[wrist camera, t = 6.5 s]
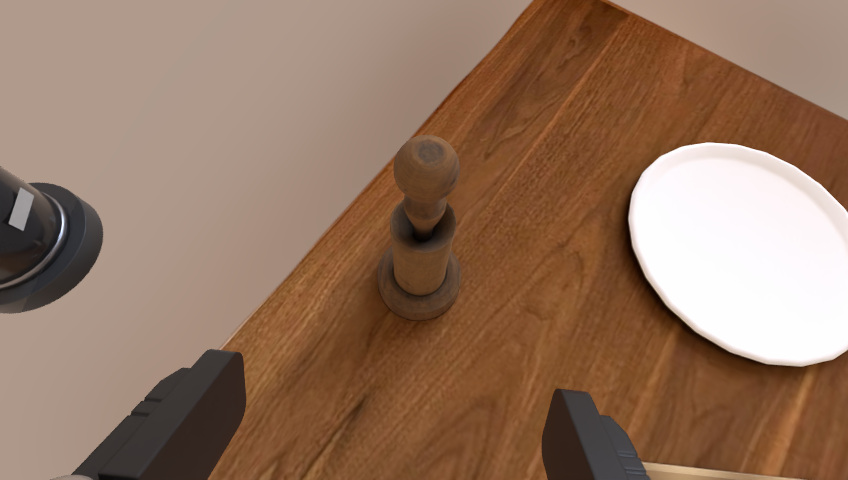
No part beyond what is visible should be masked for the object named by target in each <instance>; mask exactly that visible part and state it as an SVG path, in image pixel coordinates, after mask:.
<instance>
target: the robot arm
mask: <svg viewBox="0 0 848 480" xmlns="http://www.w3.org/2000/svg"><path fill="white" fill-rule="evenodd" d="M69 233H70V218H69V215H68V212H67V210H66V209H65V207H64V206H63V205H62V204H61V203H60V202H59V201H57V200H56V199H54V198H52V197H51V196H49V195H47V194H45V193H43V192H40V191H39V190H37V189H36V188H34V187H32V186H31V185H29V184H28V183H26V182H24V181H23V180H21V179H20V178H19V177H17V176H15V175H14V174H12V173H11V172H9V171H7V170H6V169H4V168H2V167H1V166H0V291H2V290H7V289H11V288H14V287H17V286H20V285H22V284H24V283H26V282H28V281H30V280H32V279H33V278H35V277H37V276H38V275H40V274H41V273H42V272H44V271H45V270H46V269H47V268H48V267H49V266H50V265H51V264H52V263H53V262H54V261H55V260H56V259H57V258H58V256H59V255H60V253H61V252H62V250H63V249H64V247H65V245H66V243H67V240H68V237H69ZM245 407H246V390H245V377H244V364H243V356H242V354H241V353H239V352H231V351H222V350H213V349H210V350H207V351H206V352H205V353H204V354H203V355H202V356H201V357H200V358H199V360H198V361H197V362H196V363H195V364H194V365H193V366H192V367H191V368H181V369H179V370H178V371H176V372H174V373H173V374H171V375H169V376H168V377H166V378H165V379H163V380H161V381H160V382H159V383H158V384H157V385H156V386H155V387H154V389H152V391H151V392H150V393H149V394H148V395H147V396H146V397H145V400H144V401H141V402H140V403H139V404H138V405H137V406H136V407H135V408H134V409H133V411H132V412H131V415H130V416H127V417H126V418H125V419H124V420H123V421H122V422H121V423H120V424H119V425H118V426H117V427H116V428H115V429H114V430H113V431H112V432H111V434H110V435H109V436H108V437H107V438H106V439H105V440H104V441H103V442H102V443H101V444H100V445H99V446H98V447H97V448H96V449H95V450H94V451H93V452H92V453H91V455H89V457H88V458H87V459H86V460H85V461H84V462H83V463H82V464H81V465H80V466H79V467H78V468H77V469H76V470H75V471H74V472H73V473H72V474H71V475H67V476H61V477H57V478H54V479H51V480H207V479H208V477H209V476H210V474H211V472H212V471H213V469H214V467H215V466H216V464H217V462H218V461H219V459H220V457H221V456H222V454H223V452H224V451H225V449H226V447H227V446H228V444H229V442H230V441H231V439H232V437H233V436H234V434H235V432H236V431H237V429H238V427H239V425H240V423H241V421H242V419H243V416H244V412H245ZM542 457H543V462H544V466H545V470H546V474H547V478H548V480H651V479H650V477H649V475H646V469H645V468H644V466H643V464H642V462H641V460H640V458H638V457H637V452H636V450H635V448H634V446H633V444H632V443H631V441H630V439H629V437H628V435H627V433H626V432H625V431H624V430H623V429H622V428H621V427H620V426H619V425H618V424H617V423H616V422H615V421H614V420H613V419H612V418H611V417H610V416H603V415H599V413H598V411H597V408H596V406H595V404H594V402H593V400H592V398H591V396H590V394H589V393H588V392H583V391H574V390H565V389H556V390H555V391H554V394H553V397H552V401H551V404H550V408H549V412H548V416H547V420H546V423H545V427H544V431H543V435H542Z"/></svg>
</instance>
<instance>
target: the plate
mask: <svg viewBox="0 0 848 480" xmlns="http://www.w3.org/2000/svg"><path fill="white" fill-rule="evenodd" d="M627 220H628V226H629V233H630V239H631V246H632V249H633V252H634V254H635V256H636V259H637V261H638V263H639V266H640V268H641V270H642V273H643V275H644V277H645V279H646V280H647V281H648V283H649V284H650V286H651V287H652V288H653V290H654V291H655V292H656V294H657V295H658V296H659V298H660V299H661V301H662V302H663V303H664V305H665V306H666V307H667V308H668V309H669V310H670V311H671V312H672V313H674V314H675V315H676V316H677V317H678V318H679V319H680V320H681V321H683V322H684V323H685V324H686V325H687V326H688V327H689V328H690V329H691V330H693V331H694V332H695V333H697V334H698V335H700V336H702V337H703V338H705V339H707V340H708V341H710V342H712V343H714V344H715V345H717V346H719V347H720V348H722V349H724V350H726V351H727V352H729V353H732V354H735V355H738V356H741V357H745V358H748V359H751V360H754V361H757V362H760V363H763V364H770V365H784V366H798V367H802V366H807V365H811V364H815V363H820V362H824V361H829V360H833V359H835V358H836V357H838V356H839V355H841V354H842V353H844V352H845V351H847V350H848V213H847V212H846V210H845V209H844V208H843V207H842V206H841V205H840V204H839V203H838V202H837V201H836V200H835V199H834V198H833V197H832V196H831V195H830V194H829V193H828V192H827V191H826V190H825V189H824V188H823V187H822V186H821V185H820V184H819V183H817V182H816V181H815V180H813V179H812V178H810V177H809V176H807V175H806V174H805V173H803V172H802V171H800V170H799V169H798V168H796V167H795V166H793V165H791V164H789V163H786V162H784V161H782V160H780V159H778V158H776V157H774V156H772V155H770V154H768V153H765V152H762V151H758V150H754V149H751V148H747V147H744V146H740V145H734V144H721V143H702V144H695V145H689V146H682V147H680V148H678V149H676V150H673V151H671V152H669V153H667V154H665V155H662V156H660V157H659V158H658V159H657V160H656V161H655V162H654V163H653V164H651V165H650V166H649V167H648V168H647V169H646V170H645V171H644V172H643V173H642V175H641V177H640V178H639V180H638V182H637V184H636V186H635V188H634V190H633V192H632V194H631V199H630V206H629V212H628V219H627Z"/></svg>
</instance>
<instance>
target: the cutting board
mask: <svg viewBox="0 0 848 480" xmlns="http://www.w3.org/2000/svg"><path fill="white" fill-rule="evenodd" d="M642 464H643V466H644V468H645V469H646V475H649V477H650V479H651V480H804V479H795V478H786V477H777V476H768V475H759V474H749V473H740V472H731V471H722V470H713V469H704V468H695V467H685V466H676V465H667V464H658V463H649V462H642Z"/></svg>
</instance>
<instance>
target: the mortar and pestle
mask: <svg viewBox="0 0 848 480" xmlns="http://www.w3.org/2000/svg"><path fill="white" fill-rule="evenodd" d="M459 174H460V164H459V160H458V157H457V154H456V152H455V151H454V149H453V148H452V147H451V145H450V144H449V143H447V142H446V141H445V140H443V139H441V138H439V137H437V136H433V135H421V136H417V137H414V138H412V139H410V140H409V141H407V142H406V143H405V144H404V145H403V146H402V147H401V148H400V150H399V151H398V153H397V155H396V158H395V161H394V177H395V180H396V183H397V185H398V187H399V188H400V189H401V191H402V192H403V193H404V194H405V196H404V199H403V200H402V201H401V202H399V203H398V204H397V206H396V207H395V208H394V210H393V212H392V214H391V218H390V232H391V240H392V246H390V247H389V248H388V249H387V251H386V252H385V253H384V254H383V256H382V258H381V260H380V262H379V265H378V270H377V280H378V286H379V291H380V294H381V297H382V299H383V301H384V302H385V304H386V305H387V306H388V307H389V308H390V309H391V310H392V311H393V312H394V313H396V314H397V315H399V316H401V317H403V318H406V319H410V320H428V319H432V318H435V317H437V316H439V315H441V314H442V313H444V312H445V311H446V310H447V309H448V308H449V307H450V306H451V305H452V304H453V302H454V301H455V299H456V297H457V294H458V291H459V288H460V284H461V268H460V265H459V262H458V260H457V258H456V256H455V255H454V253H453V252H452V251H451V246H452V242H453V238H454V235H455V231H456V217H455V213H454V211H453V209H452V207H451V206H450V205H449V204H448V203H447V202H446V198H445V197H446V196H447V195H448V194H450V192H451V191H452V190H453V189H454V188H455V186H456V184H457V182H458V179H459Z"/></svg>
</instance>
